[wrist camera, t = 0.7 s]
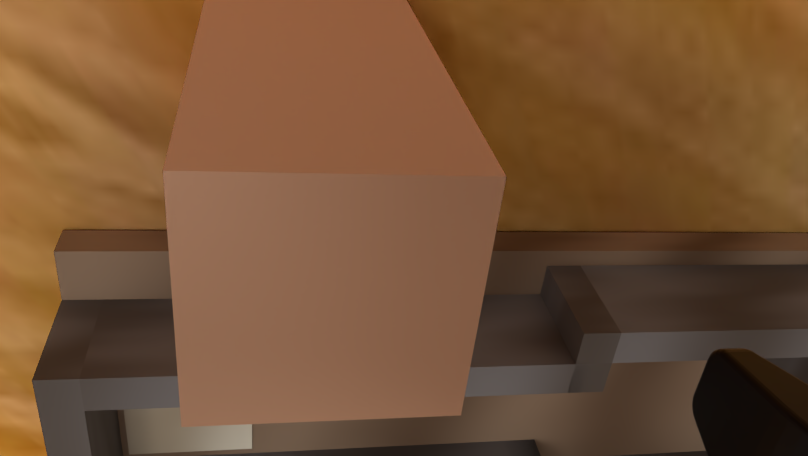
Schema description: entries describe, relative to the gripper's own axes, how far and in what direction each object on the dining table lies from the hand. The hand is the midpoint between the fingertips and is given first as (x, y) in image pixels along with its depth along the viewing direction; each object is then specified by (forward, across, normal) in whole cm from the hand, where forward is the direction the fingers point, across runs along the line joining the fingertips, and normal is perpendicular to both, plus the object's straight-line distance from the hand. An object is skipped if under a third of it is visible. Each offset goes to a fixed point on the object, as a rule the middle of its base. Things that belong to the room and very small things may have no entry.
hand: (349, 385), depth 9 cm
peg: (+11, 0, 0) cm, 11 cm away
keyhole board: (+11, -5, +10) cm, 16 cm away
